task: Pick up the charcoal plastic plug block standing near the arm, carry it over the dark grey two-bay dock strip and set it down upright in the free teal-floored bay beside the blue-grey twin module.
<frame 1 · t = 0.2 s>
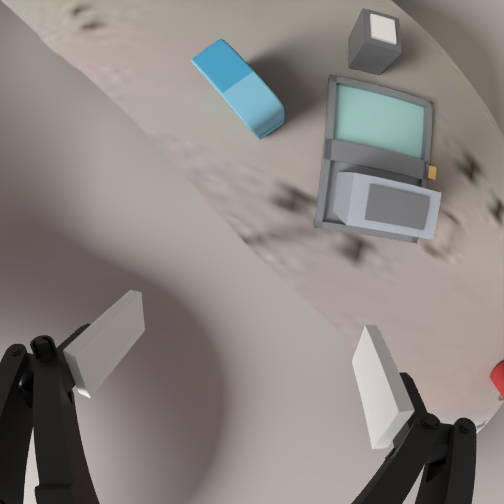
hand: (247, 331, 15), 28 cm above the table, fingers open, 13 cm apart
twin module: (373, 198, 38), resting on dock strip
data package: (248, 102, 36), on the table
dock strip: (377, 159, 36), on the table
beer can: (497, 369, 44), on the table
plug: (364, 55, 31), on the table
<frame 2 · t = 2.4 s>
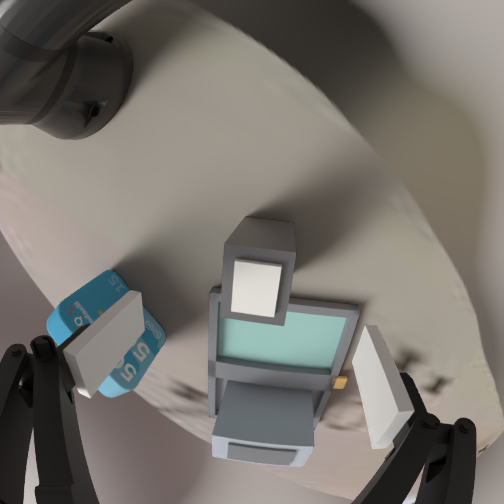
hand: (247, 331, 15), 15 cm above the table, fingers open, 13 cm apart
twin module: (267, 399, 36), resting on dock strip
data package: (132, 308, 34), on the table
dock strip: (272, 370, 34), on the table
plug: (265, 247, 29), on the table
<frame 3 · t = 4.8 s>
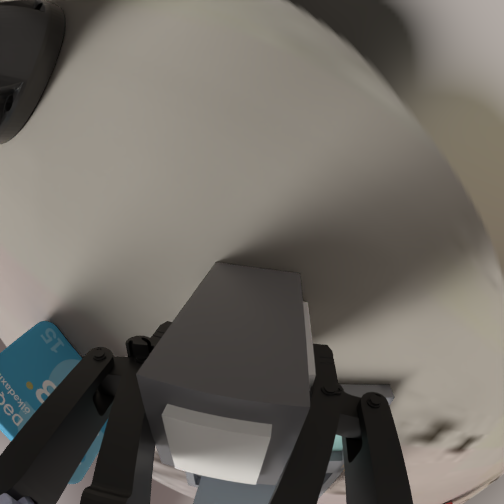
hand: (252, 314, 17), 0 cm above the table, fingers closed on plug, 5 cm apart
twin module: (258, 475, 24), resting on dock strip
data package: (79, 367, 22), on the table
dock strip: (265, 452, 22), on the table
plug: (252, 311, 17), on the table, touching gripper
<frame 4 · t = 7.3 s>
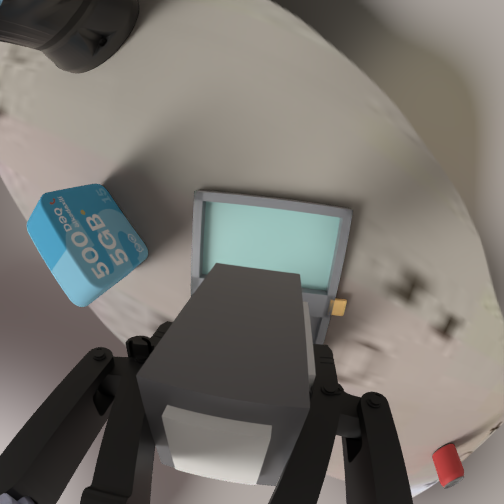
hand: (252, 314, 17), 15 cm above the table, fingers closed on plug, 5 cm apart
data package: (116, 226, 33), on the table
dock strip: (262, 293, 33), on the table
beer can: (442, 449, 41), on the table
plug: (252, 312, 17), point 15 cm above the table, touching gripper
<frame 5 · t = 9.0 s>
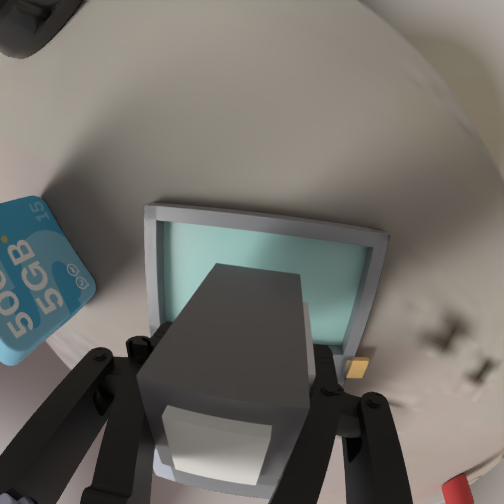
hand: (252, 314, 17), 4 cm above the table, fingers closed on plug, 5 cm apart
twin module: (244, 395, 24), resting on dock strip
data package: (60, 250, 23), on the table
dock strip: (250, 348, 22), on the table
beer can: (453, 479, 31), on the table
plug: (252, 312, 17), point 4 cm above the table, touching gripper
when the fingers open (2 cm above the table, at t = 10.1 s): plug drops 2 cm, resting on dock strip.
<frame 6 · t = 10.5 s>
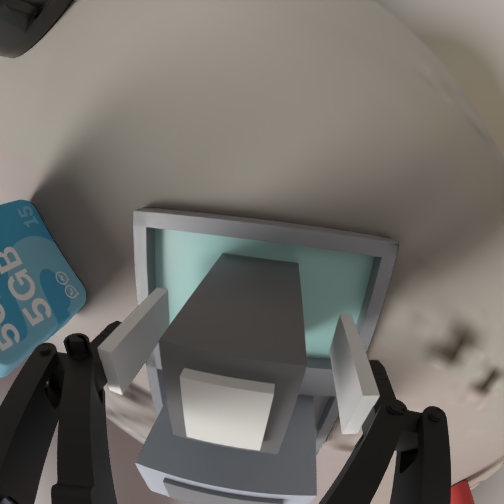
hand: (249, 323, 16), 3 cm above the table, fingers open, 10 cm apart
twin module: (242, 409, 22), resting on dock strip
data package: (50, 257, 21), on the table
dock strip: (248, 362, 21), on the table
beer can: (454, 485, 29), on the table
plug: (255, 299, 19), resting on dock strip
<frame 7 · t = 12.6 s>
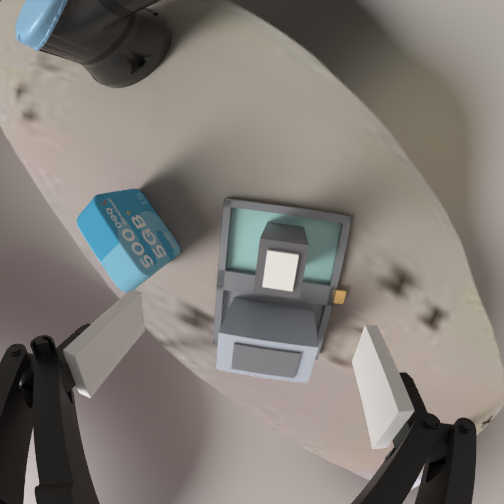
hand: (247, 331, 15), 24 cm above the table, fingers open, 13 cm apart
twin module: (270, 320, 41), resting on dock strip
data package: (151, 226, 40), on the table
dock strip: (276, 284, 40), on the table
plug: (282, 245, 38), resting on dock strip
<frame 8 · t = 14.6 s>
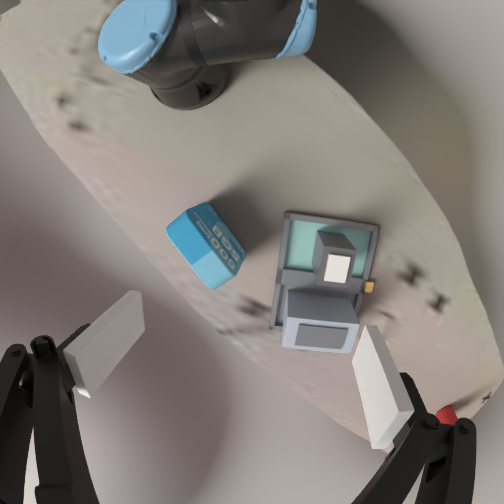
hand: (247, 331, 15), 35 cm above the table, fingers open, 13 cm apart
twin module: (315, 307, 52), resting on dock strip
data package: (218, 233, 50), on the table
dock strip: (321, 278, 50), on the table
beer can: (443, 411, 58), on the table
plug: (327, 248, 48), resting on dock strip
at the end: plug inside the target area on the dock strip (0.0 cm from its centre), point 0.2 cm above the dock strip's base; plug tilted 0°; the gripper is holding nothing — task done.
